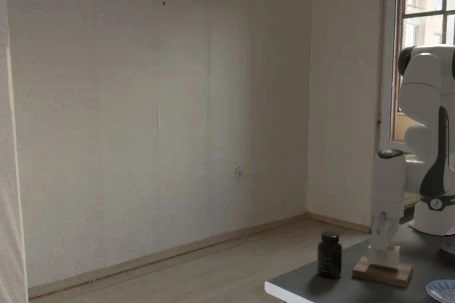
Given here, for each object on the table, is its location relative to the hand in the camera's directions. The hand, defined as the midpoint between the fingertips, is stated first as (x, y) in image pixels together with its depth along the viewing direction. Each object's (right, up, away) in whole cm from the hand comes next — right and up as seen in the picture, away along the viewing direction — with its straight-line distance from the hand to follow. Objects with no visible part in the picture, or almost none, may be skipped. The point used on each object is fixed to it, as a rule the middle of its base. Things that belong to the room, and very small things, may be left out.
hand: (383, 256), depth 127 cm
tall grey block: (0, -3, +1) cm, 3 cm away
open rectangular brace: (0, -2, 0) cm, 2 cm away
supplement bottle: (-15, -5, 0) cm, 16 cm away
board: (0, -5, +1) cm, 5 cm away
